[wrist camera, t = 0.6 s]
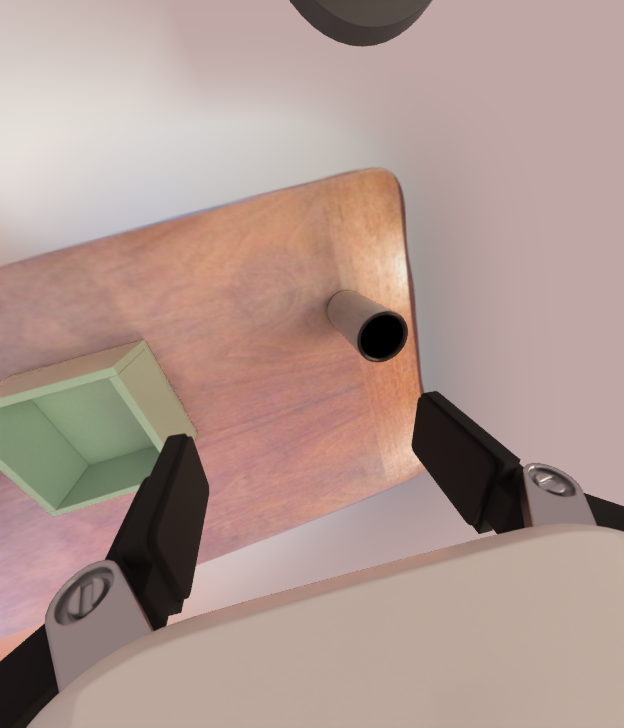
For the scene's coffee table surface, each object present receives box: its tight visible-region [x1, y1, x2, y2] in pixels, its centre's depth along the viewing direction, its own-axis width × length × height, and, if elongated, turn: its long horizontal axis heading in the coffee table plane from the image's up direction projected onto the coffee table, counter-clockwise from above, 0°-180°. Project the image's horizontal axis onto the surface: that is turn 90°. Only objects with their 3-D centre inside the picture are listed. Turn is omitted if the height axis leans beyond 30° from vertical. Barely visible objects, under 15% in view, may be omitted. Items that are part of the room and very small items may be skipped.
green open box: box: [0, 340, 197, 517], centre depth 27 cm, size 14×14×7 cm
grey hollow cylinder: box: [327, 290, 408, 362], centre depth 26 cm, size 4×4×10 cm
